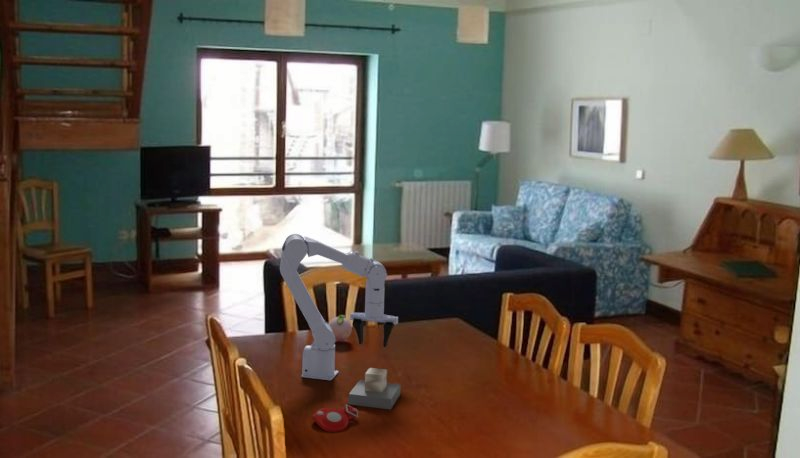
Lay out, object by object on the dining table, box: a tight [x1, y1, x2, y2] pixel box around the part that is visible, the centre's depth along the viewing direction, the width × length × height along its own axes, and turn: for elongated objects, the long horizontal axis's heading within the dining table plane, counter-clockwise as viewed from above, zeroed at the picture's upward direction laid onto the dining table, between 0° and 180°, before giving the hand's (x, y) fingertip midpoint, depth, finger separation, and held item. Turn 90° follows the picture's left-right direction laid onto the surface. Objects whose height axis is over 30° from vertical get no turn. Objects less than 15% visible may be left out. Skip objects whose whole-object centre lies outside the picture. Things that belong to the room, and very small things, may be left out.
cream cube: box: [364, 367, 388, 393], centre depth 225 cm, size 5×5×5 cm
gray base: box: [347, 379, 402, 410], centre depth 225 cm, size 12×12×3 cm
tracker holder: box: [311, 404, 359, 433], centre depth 208 cm, size 12×4×10 cm
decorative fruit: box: [328, 314, 353, 343], centre depth 276 cm, size 9×8×10 cm
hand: (373, 344), depth 244 cm, fingers open, 7 cm apart
